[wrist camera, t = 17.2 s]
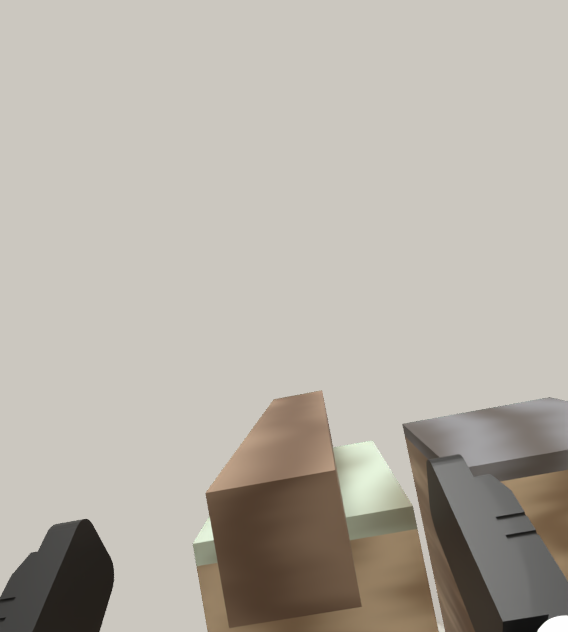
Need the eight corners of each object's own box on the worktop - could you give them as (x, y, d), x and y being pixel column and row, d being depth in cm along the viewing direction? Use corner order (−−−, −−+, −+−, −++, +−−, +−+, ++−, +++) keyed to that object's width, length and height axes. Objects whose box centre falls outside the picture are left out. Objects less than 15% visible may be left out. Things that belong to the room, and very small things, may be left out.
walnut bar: (229, 628, 14) (205, 493, 14) (283, 448, 38) (273, 399, 38) (362, 606, 14) (335, 469, 14) (331, 439, 38) (322, 390, 38)
